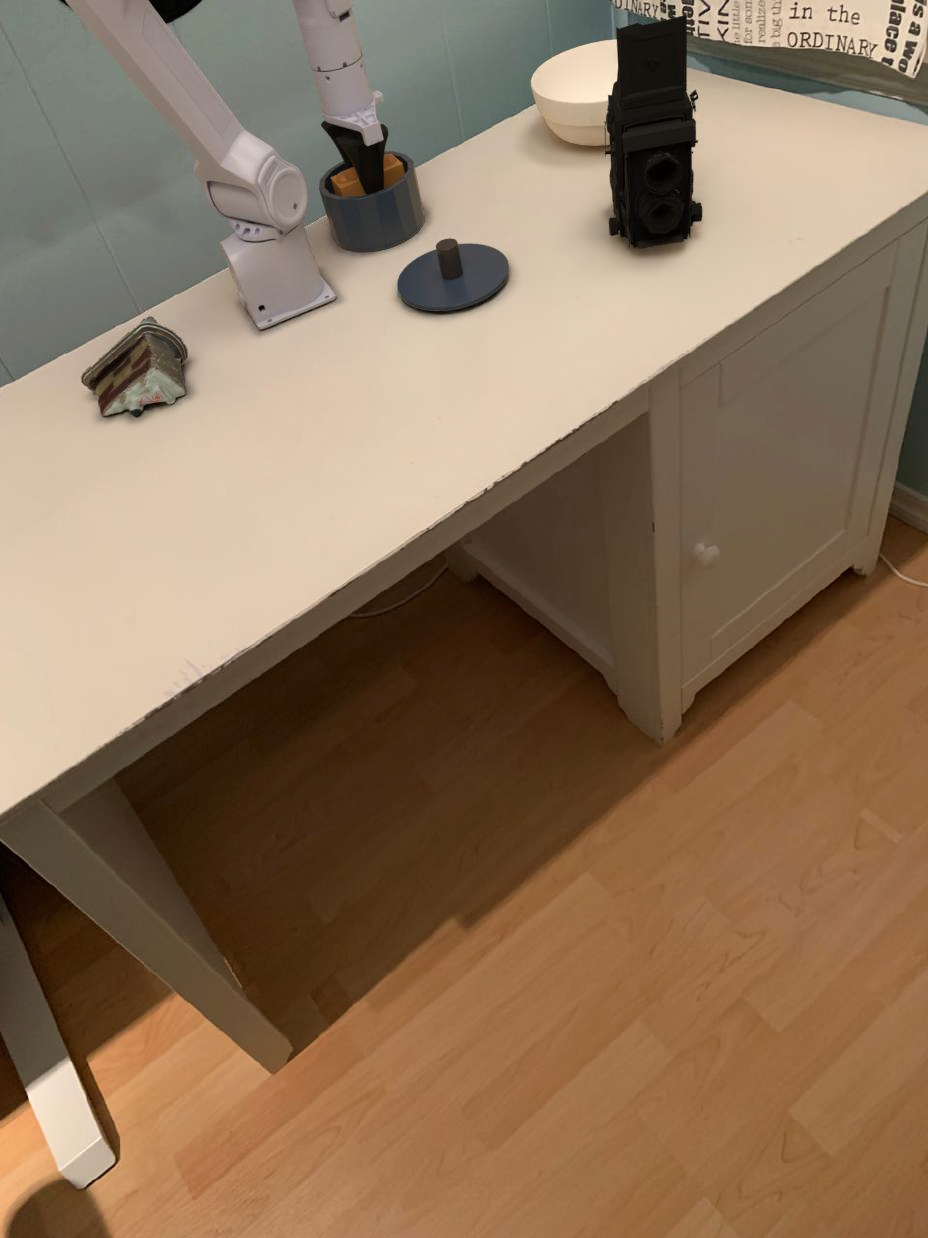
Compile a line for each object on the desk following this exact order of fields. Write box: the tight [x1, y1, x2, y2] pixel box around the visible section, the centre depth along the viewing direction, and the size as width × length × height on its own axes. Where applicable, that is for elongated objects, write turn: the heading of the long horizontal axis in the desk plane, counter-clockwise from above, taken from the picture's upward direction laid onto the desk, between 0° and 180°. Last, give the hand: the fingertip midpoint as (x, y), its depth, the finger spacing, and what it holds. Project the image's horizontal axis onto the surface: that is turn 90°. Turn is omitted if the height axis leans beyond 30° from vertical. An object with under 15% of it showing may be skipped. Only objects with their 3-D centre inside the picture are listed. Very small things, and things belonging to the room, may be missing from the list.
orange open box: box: [331, 154, 405, 197], centre depth 104 cm, size 8×4×4 cm, turn 115°
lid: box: [396, 237, 510, 312], centre depth 95 cm, size 12×12×5 cm
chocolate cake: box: [80, 315, 189, 417], centre depth 93 cm, size 10×7×12 cm
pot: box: [318, 150, 426, 253], centre depth 106 cm, size 11×11×6 cm
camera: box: [604, 14, 703, 250], centre depth 89 cm, size 10×14×20 cm
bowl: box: [530, 38, 618, 147], centre depth 111 cm, size 18×18×7 cm
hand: (369, 186), depth 104 cm, fingers closed on orange open box, 3 cm apart
